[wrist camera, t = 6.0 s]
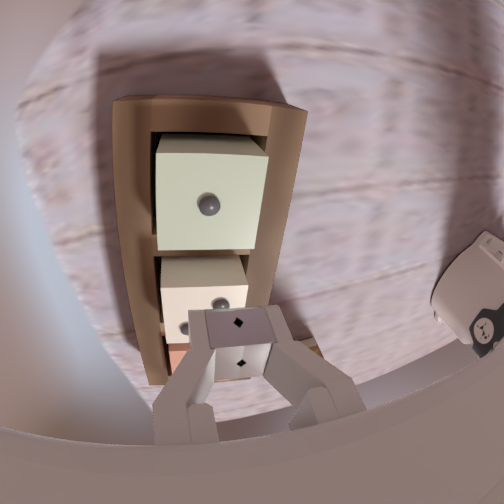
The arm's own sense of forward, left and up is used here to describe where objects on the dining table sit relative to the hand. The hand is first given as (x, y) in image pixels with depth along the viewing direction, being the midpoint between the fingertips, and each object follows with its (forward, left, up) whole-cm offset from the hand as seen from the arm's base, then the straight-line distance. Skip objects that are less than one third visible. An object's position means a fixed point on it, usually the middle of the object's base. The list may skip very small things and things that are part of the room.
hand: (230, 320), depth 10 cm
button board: (0, +9, -15) cm, 18 cm away
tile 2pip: (0, +9, -13) cm, 16 cm away
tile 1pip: (0, 0, -13) cm, 13 cm away
